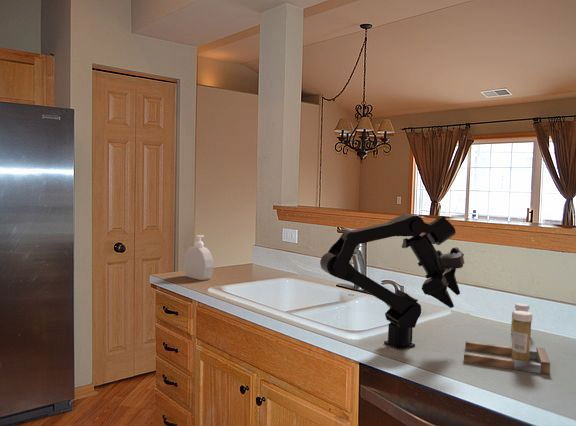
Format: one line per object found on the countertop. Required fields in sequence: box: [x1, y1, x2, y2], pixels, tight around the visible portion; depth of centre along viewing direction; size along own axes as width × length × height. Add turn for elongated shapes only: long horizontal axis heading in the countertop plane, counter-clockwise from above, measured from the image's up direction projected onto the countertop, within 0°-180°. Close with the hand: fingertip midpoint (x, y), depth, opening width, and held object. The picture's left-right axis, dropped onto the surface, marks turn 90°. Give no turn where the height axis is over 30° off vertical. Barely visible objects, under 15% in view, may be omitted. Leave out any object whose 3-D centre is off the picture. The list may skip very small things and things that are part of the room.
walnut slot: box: [463, 340, 551, 375], centre depth 130 cm, size 20×12×3 cm, turn 68°
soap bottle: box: [183, 234, 215, 281], centre depth 227 cm, size 16×5×20 cm, turn 49°
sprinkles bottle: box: [510, 311, 533, 362], centre depth 128 cm, size 5×5×14 cm
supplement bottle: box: [510, 302, 530, 335], centre depth 152 cm, size 5×5×10 cm
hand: (455, 300), depth 138 cm, fingers open, 9 cm apart
